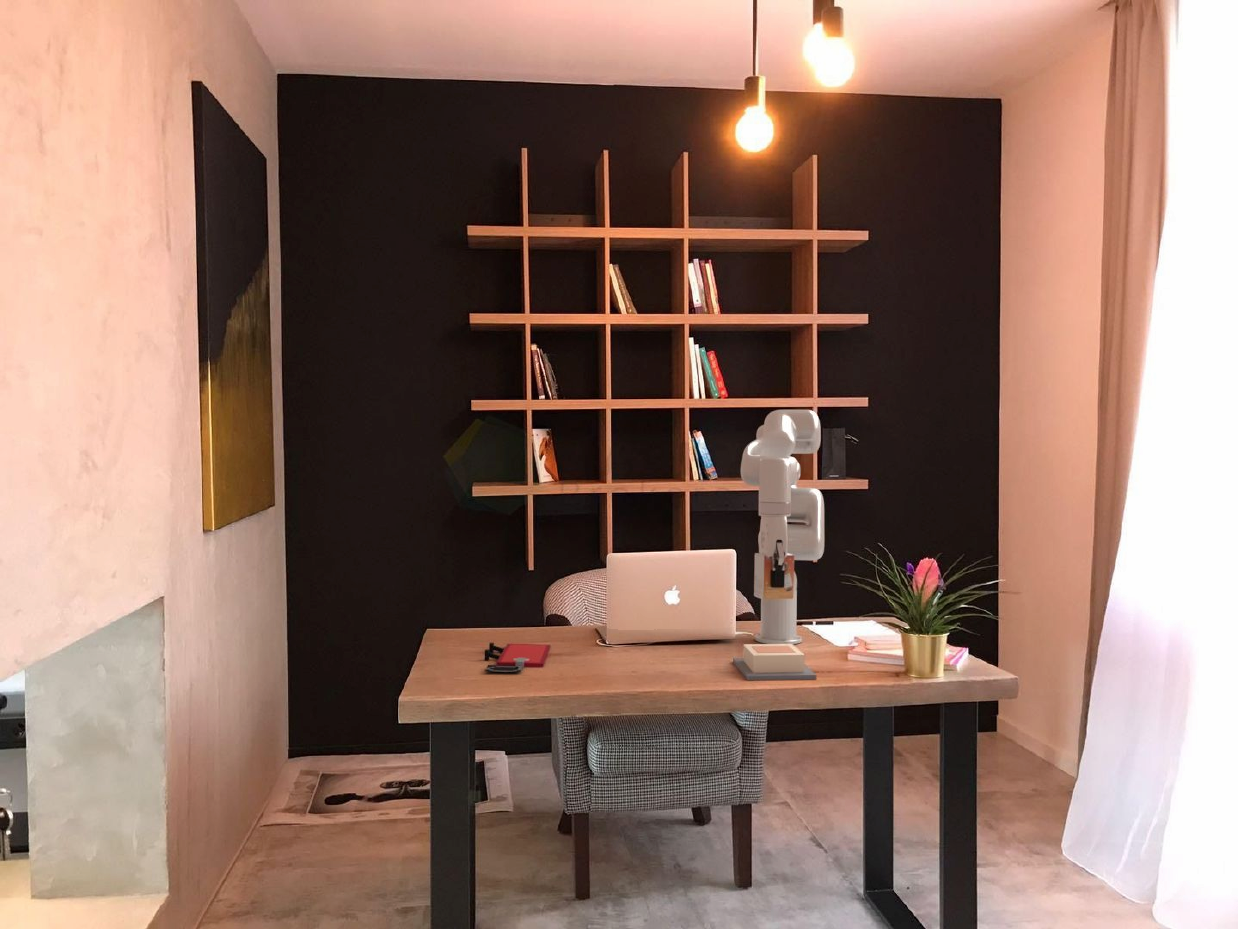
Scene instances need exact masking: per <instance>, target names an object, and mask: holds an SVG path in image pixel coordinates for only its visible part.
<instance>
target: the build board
mask: <svg viewBox="0 0 1238 929" xmlns="http://www.w3.org/2000/svg"><path fill="white" fill-rule="evenodd" d="M742 656H743V657H733V658H732V663H733V662H734V663H733V664H734V665H735V666H736V668H737V669H738V670H739V672H740V673H741V674H742V676H745V677H744V678H745V679H746V680H747V681H787V680H789V681H790V680H791V681H792V680H795V681H796V680H799V681H802V680H803V681H804V680H817V674H816V673H815V672H814V671H813V670H811V668H810V667H808V666H807V665H806V663H805V662H806V661H805V659H806V656H805V654H804V653H803V651H801V650H800V649H799V648H798V647H797V646H795V644H765V643H757V644H756V643H755V644H754V643H753V644H752V643H751V644H749V643H748V644H747V643H746V644H743V655H742Z"/></svg>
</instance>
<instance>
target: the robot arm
mask: <svg viewBox="0 0 1238 929" xmlns="http://www.w3.org/2000/svg"><path fill="white" fill-rule="evenodd" d="M821 429H822V428H821V420H820V419H819V416H818V414H817V413H816V412H815V411H813V410H811V409H776V410H773V411H770V413H768V414H767V415H766V417H765V419H764V424H762V425H760V426H759V427H758V429H757V430H756V439H754V440H753V441H751V442H750V443H748V444H747V445H746V447H745V448H744V450H743V453H742V456H741V457H742V458H741V463H740V477H741V480H742V482H743V483H744V484H745V485H747V486H750V487H758V516H759V517H760V518H761V519H760V525H759V533H758V538H757V539H758V553H762V554H764V555H765V556H766V558H767V559H769V558H770V556H771V557H772V558H771V560H772V562H771V563H772V570H771V579H770V586H771V587H772V588H783V587H784V578H785V571H784V570H785V567H784V558H786V557H787V553H789V554H792V555H794V561H817V560H819V559H821V558H822V557H823V554H824V552H825V502H824V501H825V500H824V496H823V494H822V492H821V491H820V490H819V489H817V488H815V487H805V486H804V487H803V486H802V487H798V486H797V482H798V481H799V480H800V478H801V464H800V463H799V461H798V460H797V458H796V457H794V456H791V455H792V454H798V455H799V454H801V455H803V454H804V455H805V454H806V455H809V454H814V453H816V452H818V451H819V448H820V447H821V439H822V437H821V436H822V435H821V434H822V433H821ZM789 523H790V524H789ZM791 523H804V524H791ZM774 555H778V557H774ZM784 556H785V557H784ZM797 588H798V579H797V574H796V571H794V598H793V599H765V600H763V599H760V632H759V633H758V632H757V633H756V634H755V636H754V639H755V641H756V642H758V643H760V644H793V645H796V644H800V643H802V641H803V637H802V636H801V635H799V634H798V633H797V616H798V615H797V607H798V606H797V604H798V603H797V601H798V600H797V596H798V594H797V593H798V590H797Z"/></svg>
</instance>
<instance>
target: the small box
mask: <svg viewBox="0 0 1238 929" xmlns="http://www.w3.org/2000/svg"><path fill="white" fill-rule="evenodd" d="M774 557H778V555H774ZM784 557H785V556H784ZM771 558H772V557H771V556H770V558H769V559H767V558H766V556H765V555H764V554H762V553H759V552H755V553H754V573H753V574H754V575H753V576H754V579H753V583H754V584H753V596H754V598H755V597H756V598H758V599H760V600H761V599H763V600H765V599H793V598H794V572H795V560H794V555H792V554H789V553H787V557H786V558H784V567H785V570H784V571H785V578H784V587H783V588H772V587H771V586H770V579H771V570H772V563H771V562H772V560H771Z"/></svg>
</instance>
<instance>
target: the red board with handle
mask: <svg viewBox="0 0 1238 929" xmlns="http://www.w3.org/2000/svg"><path fill="white" fill-rule="evenodd" d="M488 646H489V647H488V648H489V649H487V648H486V649H484V658H483V659H484V661H483V662H489V660H490V658H491V659H494V660H497V661H496V664H488V665H487V666H486V667H485V669H484V672H504V673H509V672H510V673H521V672H522V670H523V669H524V668H544V666H545V663H546V661H547V658H548V655H549V652H550V648H551V644H534V643H533V644H532V643H507V644H506V645H505V647H504V648H503V647H500V646H497V645H495V642H489V645H488ZM494 651H496V652H499V653H501V654H500V655H499V654H496V653H495V652H494Z"/></svg>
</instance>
